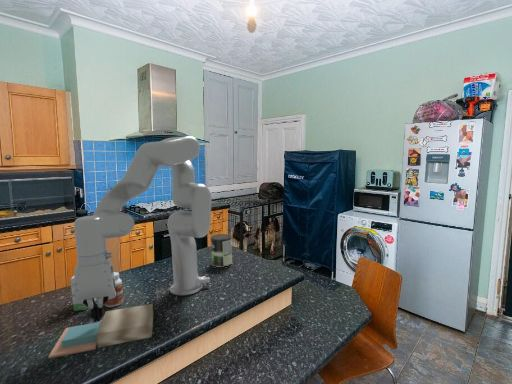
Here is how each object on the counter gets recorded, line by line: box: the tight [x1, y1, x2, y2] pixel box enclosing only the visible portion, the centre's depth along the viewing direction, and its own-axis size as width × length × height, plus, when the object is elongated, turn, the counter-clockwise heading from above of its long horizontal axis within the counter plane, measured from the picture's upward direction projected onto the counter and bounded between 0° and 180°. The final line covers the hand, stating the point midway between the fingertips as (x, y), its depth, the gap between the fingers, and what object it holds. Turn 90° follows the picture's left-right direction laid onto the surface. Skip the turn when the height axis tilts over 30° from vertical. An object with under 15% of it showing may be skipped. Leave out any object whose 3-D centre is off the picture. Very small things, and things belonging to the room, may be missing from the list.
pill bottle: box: [104, 271, 124, 308], centre depth 104 cm, size 6×6×11 cm
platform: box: [97, 303, 154, 348], centre depth 87 cm, size 14×13×4 cm
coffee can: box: [210, 233, 233, 268], centre depth 142 cm, size 10×10×14 cm
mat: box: [48, 321, 99, 359], centre depth 84 cm, size 11×14×1 cm
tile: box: [62, 321, 102, 348], centre depth 83 cm, size 9×7×2 cm
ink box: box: [70, 275, 97, 312], centre depth 104 cm, size 8×5×12 cm, turn 10°
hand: (98, 319), depth 85 cm, fingers closed
